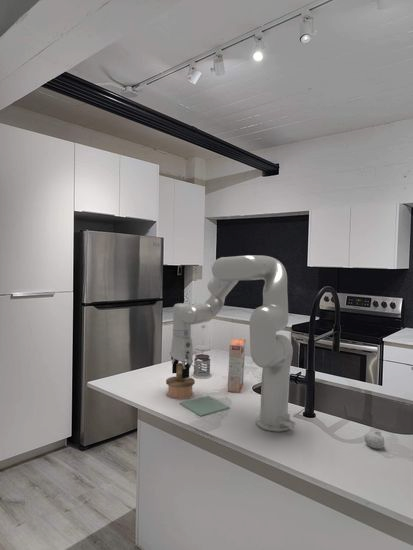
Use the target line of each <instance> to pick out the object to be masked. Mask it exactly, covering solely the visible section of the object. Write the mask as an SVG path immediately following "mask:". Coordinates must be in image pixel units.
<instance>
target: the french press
mask: <svg viewBox="0 0 413 550" xmlns="http://www.w3.org/2000/svg"><path fill="white" fill-rule="evenodd" d="M201 328H202V329H204V328H206V325H205V324H203V325H201ZM193 348H194V349H195V350H196V351H202V353H199V354H197V352H196V351H195V350H193V354H195V355H194V357H195V358H194V360H193V363H194V364H193V363H192V364H191V366H192V367H193V373H192V374H193V375H192V374H191V376H193V377H192V378H193V379H194V378H195V379H198V380H199V379H200V380H204V379H210V378H212V377H213V375H212V374H211V373H210V371H211V358H210V357H211V356H210V355H209V354H205V353H203V352H204V351H210V350H212V349H211V346H210V345H207V344H204V343H202V344H198V345H195V347H193Z"/></svg>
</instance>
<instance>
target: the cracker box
mask: <svg viewBox="0 0 413 550" xmlns="http://www.w3.org/2000/svg"><path fill="white" fill-rule="evenodd" d="M228 349H229V352H228V353H229V354H228V371H227V372H228V373H227V374H228V376H227V392H229V393H231V392H232V393H239V394H240V393H241V390H242V389H243V384H244V377H245V376H244V375H245V358H246V339H245V338H233V339H232V340H231V342H230V344H229V348H228Z"/></svg>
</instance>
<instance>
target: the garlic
mask: <svg viewBox="0 0 413 550" xmlns="http://www.w3.org/2000/svg"><path fill="white" fill-rule="evenodd" d="M381 434H382V432H381V431H379V430H378V431H369V432H367V433H365V435H364V441H365V444H366V446H369V447H370V448H373V449H376V450H381V449H383V448H384V446H385V439H384V438H385V437H384V436H383V435H381Z"/></svg>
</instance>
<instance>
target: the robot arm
mask: <svg viewBox="0 0 413 550" xmlns="http://www.w3.org/2000/svg"><path fill="white" fill-rule="evenodd" d="M211 273H212V278H211V280H209V281H208V283H207V289H208V291H209V293H210V296H209V298H207V300H206V301H205V302H204V303H203V304H202V303H201V304H194V305H193V304H192V305H191V304H189V303H184V302H183V303H181V302H180V303H179V302H178V303H175V304H174V305H173V310H172V311H173V312H172V313H173V314H172V338H171V339H172V341H171V346H170V347H171V351H170V352H169V356H170V357H171V364H172V368H171V369H172V374H176V369H177V363H182V364H183V369H182V378H188V377H190V369H191V366H192V365H193V363H194V360H193V354H194V353H193V352H194V350H193V340H192V337H191V336H192V334H191V333H192V325H198V324H202V323H208V322H210V321H212V320H213V319H214V318H215V317H216V316H217V315H218V314H219V312H220V311H221V310H222V309H223V306H224V305H225V300H226V297H227V296H228V294H229V293H230V292H231V291H232V290H233V288H234V287H235V286H236V285H237V284H238V282H239V281H258V280H263V281H264V285H263V289H262V305H261V306H258V307H256V308H255V309H253V311H252V313H251V315H250V318H249V350H250V351H249V352H250V357H251V359H252V361H253V363H254V364H255V365H256V366H258V367H259V368H262V370H261V385H260V386H261V390H260V410H259V411H260V415H257V416H256V417H255V424H256V426H258V427H259V428H260V429H263V430H266V431H268V432H277V433H278V432H279V433H280V432H286V431H288V430H293V429H294V427H295V426H296V421H294V420H291V414H290V413H289V391H290V390H289V389H290V376H291V375H290V374H291V373H290V372H291V365H292V360H293V354H294V353H293V352H294V351H293V350H294V349H293V348H294V347H293V345H292V342H291V340H290V339H289V338H288V337H287V336H285V335H283V334H278V333H277V332H279V331H282V330H285V328H286V327H287V326H288V323H289V301H288V300H289V299H288V297H289V296H288V274H287V271H286V267H285V266H284V263H282V262H281V261H280V260H278V259H277V258H275V257H272V256H268V255H254V254H253V255H250V254H248V255H247V254H246V255H236V256H226V257H225V256H222V257H219V258H217V259H216V260H215V261H214V262H213V264H212V267H211ZM191 364H192V365H191Z"/></svg>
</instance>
